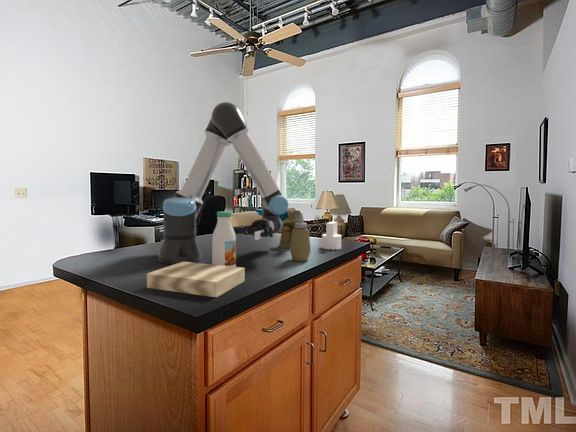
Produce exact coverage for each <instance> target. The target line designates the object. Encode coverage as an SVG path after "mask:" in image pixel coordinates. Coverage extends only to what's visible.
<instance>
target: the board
mask: <svg viewBox="0 0 576 432" xmlns="http://www.w3.org/2000/svg"><path fill="white" fill-rule="evenodd" d="M245 269H246V268H245V267H241V266H236V267H231V266H222V265H212V263H211V264H210V263H200V262H193V263H192V262H180V263H177V264H170V265H169V266H165V267H162V268H160V269H156V270H153V271H150V272H148V273H146V288H148V289H154V290H160V291H161V290H162V291H167V292H168V291H169V292H175V293H184V294H188V295H189V294H190V295H197V296H203V297H212V298H218V297H220V296H221V295H224V294H225V293H226V292H227V293H228V291H230V290H231V289H234V288H235V287H237V286H239V285H240V284H242V283H243V282H246V281H245V280H246V279H245V278H246V276H245V275H246V272H245V271H246V270H245Z"/></svg>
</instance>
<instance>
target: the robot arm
mask: <svg viewBox="0 0 576 432" xmlns="http://www.w3.org/2000/svg"><path fill="white" fill-rule="evenodd" d="M249 130H250V127H249V125H248V123H247V122H246V120H245V118H244V116H243V113H242V112H241V110H240V109H239V107H238V106H237V105H235V104H234V103H231V102H227V101H224V102H220V103H218V104H216V106H215V107H213V110H212V112H211V117H210V119H209V122H208V124H207V126H206V128H205V130H204V133H205V136H206V137H205V139H204V142H203V144H202V146H201V147H200V150H199V152H198V154H197V157H196V158H195V160H194V162H193V165H192V167H191V170H189V172H188V173H189V174H188V175H187V178H186V180H185V182H184V184H183V186H182V188H181V189H180V190H177V191H176V192H175V194H174V196H173V197H169V198H166V199H165V200H163V204H162V205H163V206H162V211H163V216H162V217H163V242H162V246H161V249H160V251H159V254H158V258H159V259H158V261H159V263H161V264H165V265H174V264H177V263H180V262H192V263H198V262H200V261H201V260H202V254H201V250H200V247H199V244H198V241H197V218H198V215H199V213H200V210H201V209H202V206H203V205H204V202H203V200H202V197H203V196H204V194H205V191H206V189H207V187H208V185H209V183H210V181H211V179H212V177H213V174H214V172H215V170H216V168H217V166H218V163H219V162H220V160H221V157H222V155H223V154H224V152H225V151H224V150H225V148H226V147H229V146H231V145H232V146H233V148H234V150H235V152H236V154H237V155H238V157H239V159H240V161H241V162H242V164H243V165H244V168H245V169H246V171H247V173H248V174H249V176H250V178H251V180H252V182H253V183H254V185H255V187H256V189H257V190H258V192H259V194H260V196H261V199H262V201H261V202H262V203H261V205H262V209H261V210H262V212H261V213H262V215H261V218H260V219H256V220H253V221H252V223H251V224H249V225H238V226H232V227H233V230H234V232H235V235H245V236H246V235H249V236H253V237H254V240H255V241H258V240H260V239H263V238H268V237H269V238H273V237H274V236H273V235H275V234H276V233H278V232H279V231H280V230H282V226H283V222H282V220H281V217H280V215H283V214H285V213H286V212H287V210H288V208H289V201H288V199H286V197H285V196H283V193H282V192H281V190H280V189H279V186H278V185H277V182H276V181H275V179H274V177H273V176H272V174H271V172H270V170H269V168H268V167H267V165H266V162H265V161H264V159H263V157H262V155H261V153H260V152H259V150H258V148H257V146H256V144H255V142H254V141H253V138H252V137H251V135H250V133H249Z"/></svg>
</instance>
